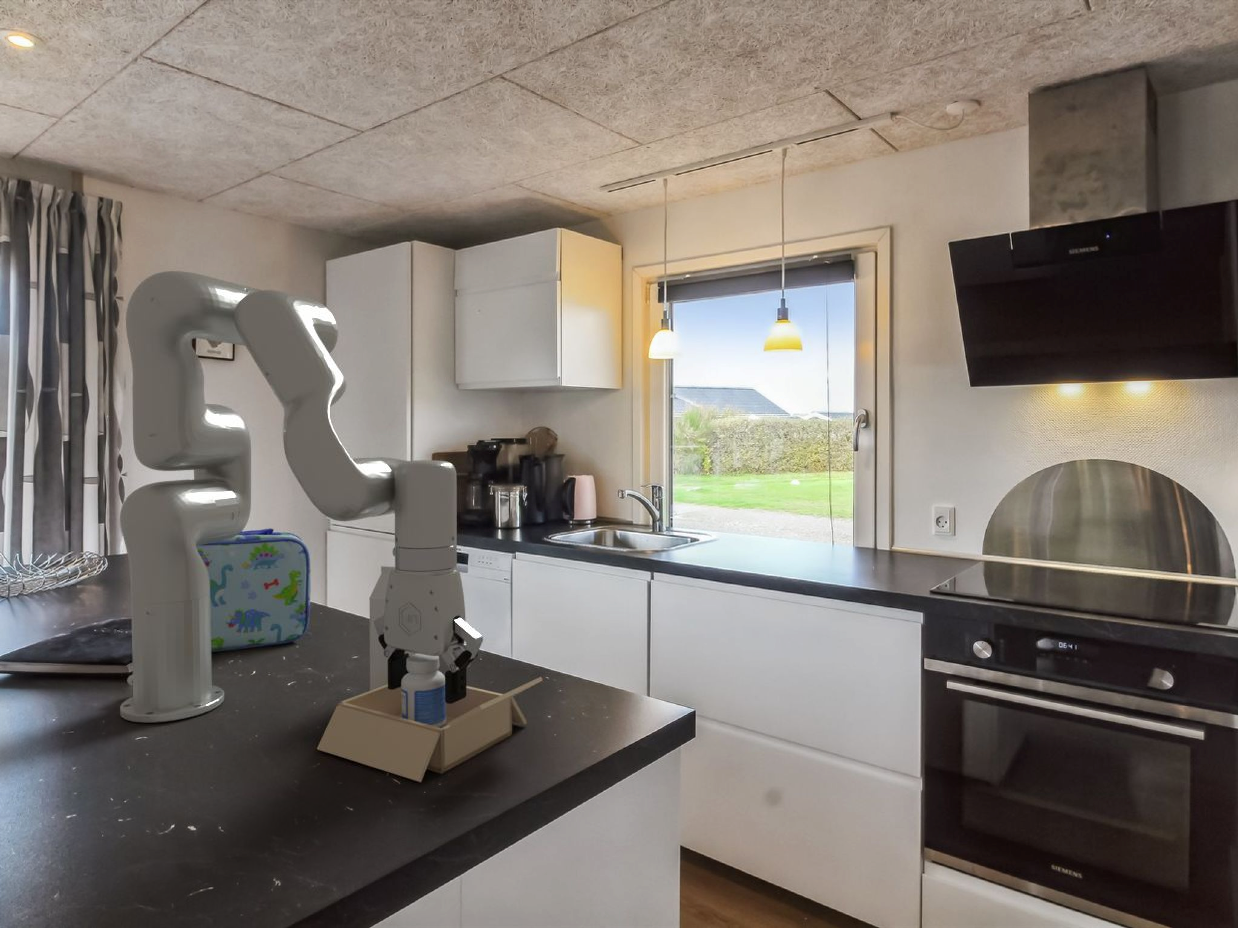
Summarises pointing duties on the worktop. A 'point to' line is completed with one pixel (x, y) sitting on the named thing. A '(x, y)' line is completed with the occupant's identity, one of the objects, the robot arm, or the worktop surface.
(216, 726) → the worktop surface
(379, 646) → the milk carton
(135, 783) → the worktop surface
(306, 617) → the lunch box
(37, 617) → the worktop surface
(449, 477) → the robot arm
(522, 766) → the worktop surface
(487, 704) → the flap
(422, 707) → the pill bottle
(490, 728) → the carton
